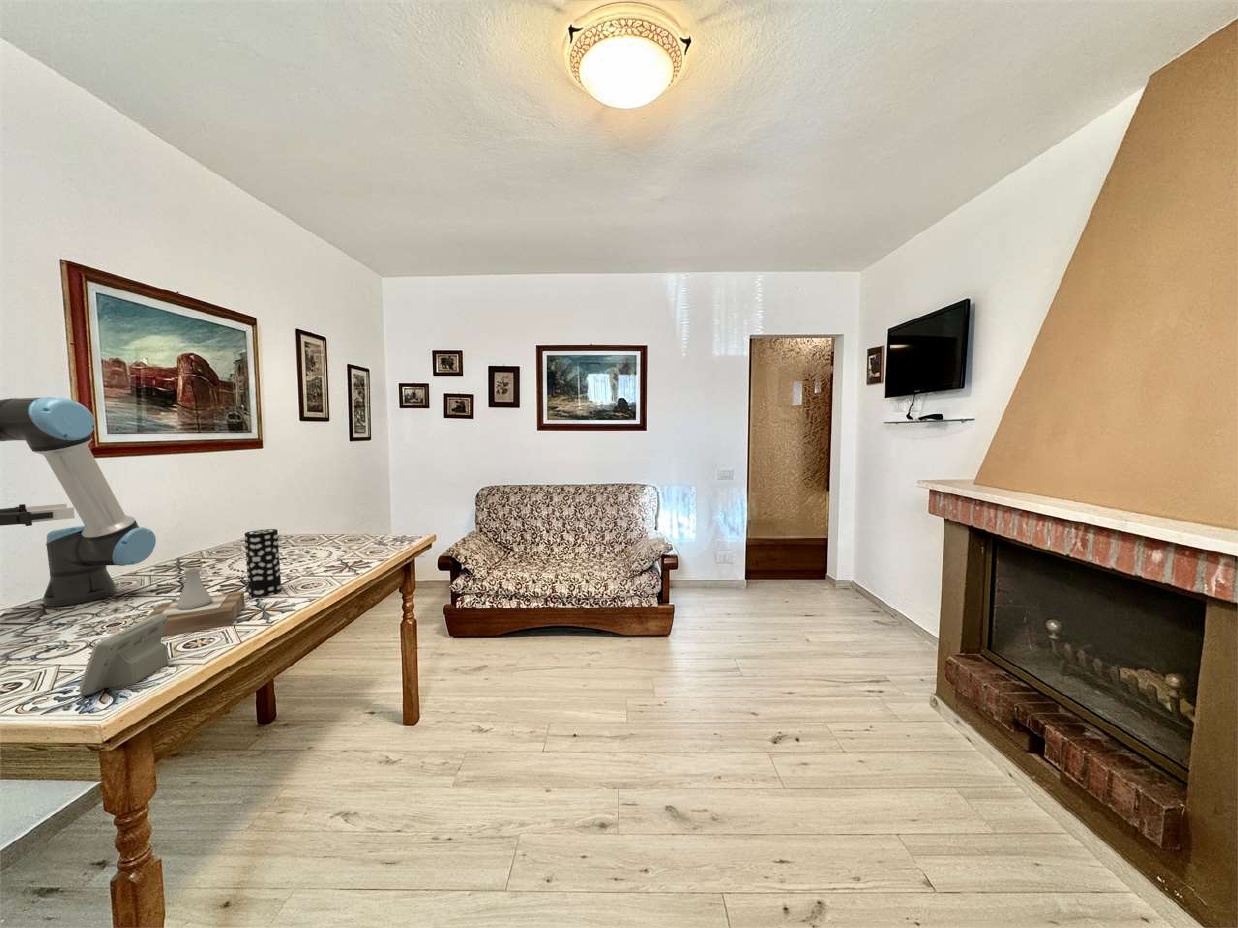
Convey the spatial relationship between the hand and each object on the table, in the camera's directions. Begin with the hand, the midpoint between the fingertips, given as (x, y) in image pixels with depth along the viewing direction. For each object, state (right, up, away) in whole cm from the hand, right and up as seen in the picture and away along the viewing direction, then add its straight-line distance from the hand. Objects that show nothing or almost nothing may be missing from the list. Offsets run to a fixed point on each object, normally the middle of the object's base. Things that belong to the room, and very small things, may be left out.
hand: (70, 510), depth 118 cm
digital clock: (+38, -33, -21) cm, 54 cm away
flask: (+25, -27, +8) cm, 37 cm away
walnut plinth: (+25, -31, +8) cm, 41 cm away
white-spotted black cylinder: (+27, -30, +30) cm, 50 cm away
